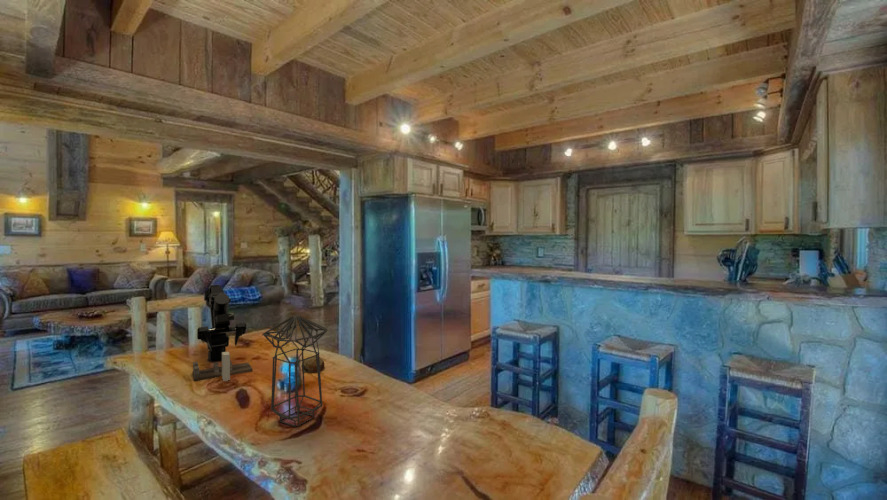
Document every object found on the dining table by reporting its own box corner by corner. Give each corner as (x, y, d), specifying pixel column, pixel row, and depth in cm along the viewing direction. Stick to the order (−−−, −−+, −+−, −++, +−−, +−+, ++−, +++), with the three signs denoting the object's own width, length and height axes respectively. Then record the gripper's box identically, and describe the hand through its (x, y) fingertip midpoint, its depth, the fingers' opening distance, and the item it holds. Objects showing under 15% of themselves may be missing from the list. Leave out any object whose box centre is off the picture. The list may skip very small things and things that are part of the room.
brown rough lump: (299, 378, 176) (294, 364, 172) (312, 362, 185) (307, 349, 181) (318, 380, 173) (313, 367, 169) (330, 364, 182) (326, 351, 178)
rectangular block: (221, 378, 165) (221, 352, 164) (230, 376, 167) (230, 351, 166) (223, 381, 161) (223, 355, 160) (232, 380, 163) (232, 354, 162)
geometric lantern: (331, 416, 131) (331, 313, 129) (292, 437, 118) (291, 323, 115) (300, 405, 139) (299, 308, 137) (259, 423, 125) (258, 316, 123)
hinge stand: (192, 373, 170) (192, 362, 170) (248, 364, 183) (248, 353, 182) (194, 381, 161) (194, 369, 161) (252, 371, 174) (252, 360, 173)
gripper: (197, 308, 166) (199, 340, 158) (245, 304, 177) (250, 333, 168) (196, 323, 173) (198, 354, 164) (242, 319, 184) (247, 347, 175)
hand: (224, 347), depth 168 cm, fingers open, 9 cm apart
